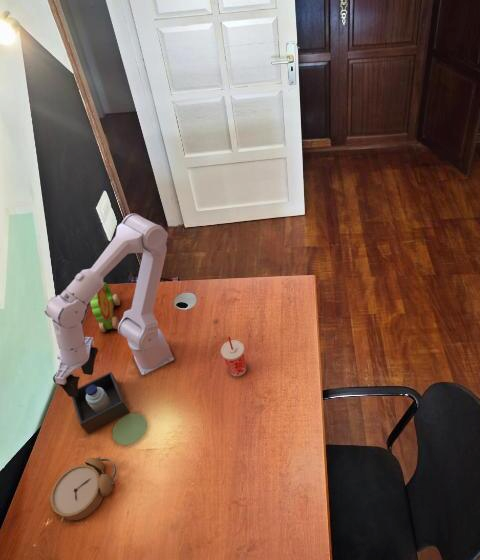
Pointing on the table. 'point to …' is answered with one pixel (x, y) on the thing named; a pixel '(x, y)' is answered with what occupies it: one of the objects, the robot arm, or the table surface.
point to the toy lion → (105, 308)
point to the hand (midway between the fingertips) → (81, 384)
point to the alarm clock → (81, 489)
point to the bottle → (97, 399)
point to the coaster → (129, 429)
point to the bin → (117, 410)
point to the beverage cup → (234, 357)
